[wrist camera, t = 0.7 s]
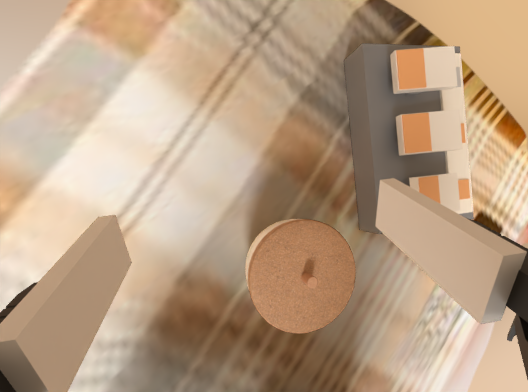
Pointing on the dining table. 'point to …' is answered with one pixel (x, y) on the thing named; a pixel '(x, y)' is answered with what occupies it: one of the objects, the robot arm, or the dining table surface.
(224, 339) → the dining table surface
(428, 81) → the switch
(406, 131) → the switch
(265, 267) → the lidded jar
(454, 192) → the switch
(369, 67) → the switch unit
